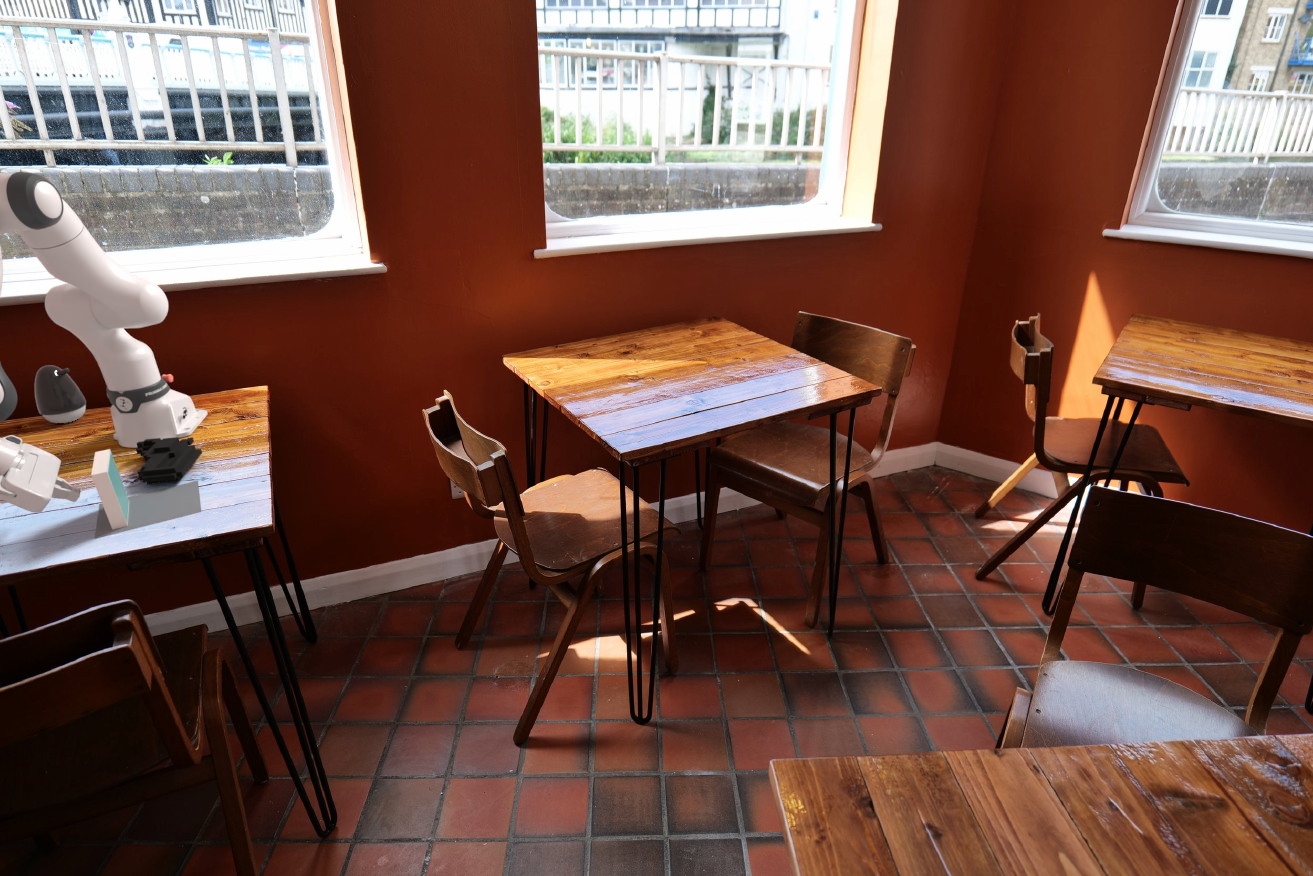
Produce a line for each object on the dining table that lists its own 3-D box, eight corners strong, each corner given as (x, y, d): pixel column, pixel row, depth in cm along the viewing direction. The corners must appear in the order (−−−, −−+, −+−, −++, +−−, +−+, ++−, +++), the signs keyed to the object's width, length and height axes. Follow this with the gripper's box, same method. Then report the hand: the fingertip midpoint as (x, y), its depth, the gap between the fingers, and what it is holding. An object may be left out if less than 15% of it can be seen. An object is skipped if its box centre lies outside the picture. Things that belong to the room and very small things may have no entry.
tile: (112, 529, 147) (91, 475, 141) (115, 504, 156) (95, 452, 151) (127, 525, 148) (107, 471, 143) (129, 500, 157) (110, 448, 152)
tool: (99, 473, 158) (176, 465, 161) (140, 433, 176) (209, 427, 179) (108, 495, 161) (184, 487, 163) (148, 454, 179) (215, 447, 181)
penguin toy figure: (73, 427, 195) (51, 372, 188) (34, 428, 195) (11, 372, 189) (100, 412, 204) (81, 358, 198) (63, 412, 204) (42, 359, 198)
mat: (95, 540, 144) (94, 538, 144) (100, 505, 156) (99, 503, 156) (201, 513, 152) (201, 511, 152) (198, 482, 165) (197, 480, 164)
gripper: (-4, 472, 130) (84, 505, 139) (14, 431, 146) (91, 463, 155) (-26, 501, 130) (63, 533, 139) (-6, 458, 146) (73, 488, 155)
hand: (78, 496), depth 147 cm, fingers closed
